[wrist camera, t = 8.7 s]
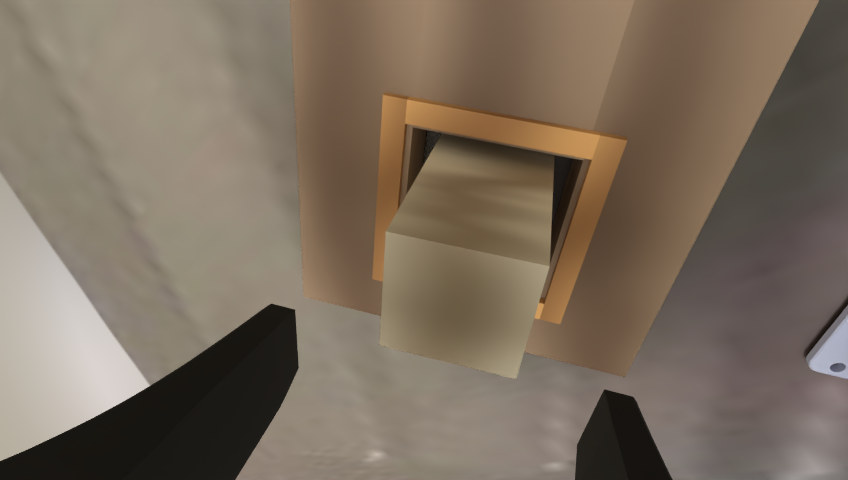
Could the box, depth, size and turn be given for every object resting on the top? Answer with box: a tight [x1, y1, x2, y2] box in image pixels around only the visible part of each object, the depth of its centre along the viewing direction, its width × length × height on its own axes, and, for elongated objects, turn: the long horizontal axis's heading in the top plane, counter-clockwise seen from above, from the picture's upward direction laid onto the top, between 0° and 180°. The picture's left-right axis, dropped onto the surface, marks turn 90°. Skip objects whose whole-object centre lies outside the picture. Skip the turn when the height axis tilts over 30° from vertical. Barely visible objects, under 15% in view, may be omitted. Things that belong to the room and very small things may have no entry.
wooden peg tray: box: [290, 0, 819, 377], centre depth 15 cm, size 14×23×3 cm, turn 174°
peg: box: [380, 133, 555, 379], centre depth 16 cm, size 4×4×8 cm
